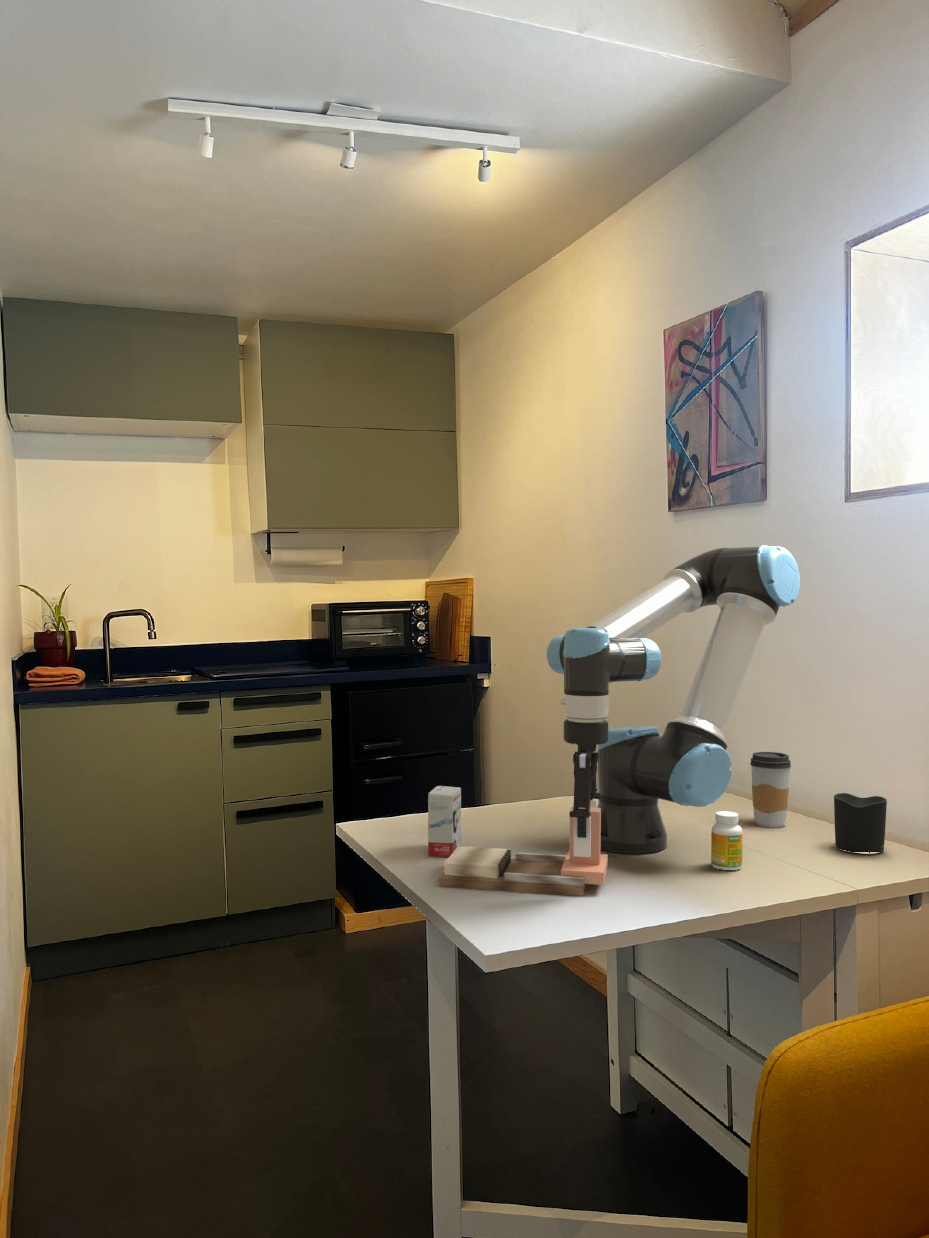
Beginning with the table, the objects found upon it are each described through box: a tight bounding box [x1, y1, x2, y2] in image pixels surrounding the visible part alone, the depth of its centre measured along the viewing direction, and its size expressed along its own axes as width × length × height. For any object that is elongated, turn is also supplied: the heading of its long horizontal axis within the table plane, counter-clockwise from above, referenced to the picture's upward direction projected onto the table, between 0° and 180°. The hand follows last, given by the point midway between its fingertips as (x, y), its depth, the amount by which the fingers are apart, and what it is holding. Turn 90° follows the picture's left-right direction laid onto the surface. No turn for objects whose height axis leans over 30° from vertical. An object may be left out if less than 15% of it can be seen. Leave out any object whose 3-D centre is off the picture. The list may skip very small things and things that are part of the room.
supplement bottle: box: [710, 810, 743, 871], centre depth 168 cm, size 5×5×10 cm
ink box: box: [427, 785, 462, 858], centre depth 178 cm, size 9×5×12 cm, turn 168°
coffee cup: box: [749, 751, 792, 829], centre depth 199 cm, size 8×8×15 cm
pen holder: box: [833, 792, 888, 853], centre depth 180 cm, size 9×9×10 cm
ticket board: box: [438, 845, 587, 897], centre depth 161 cm, size 24×14×4 cm, turn 78°
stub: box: [561, 806, 609, 886], centre depth 158 cm, size 7×11×11 cm, turn 168°
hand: (585, 846), depth 158 cm, fingers open, 12 cm apart
